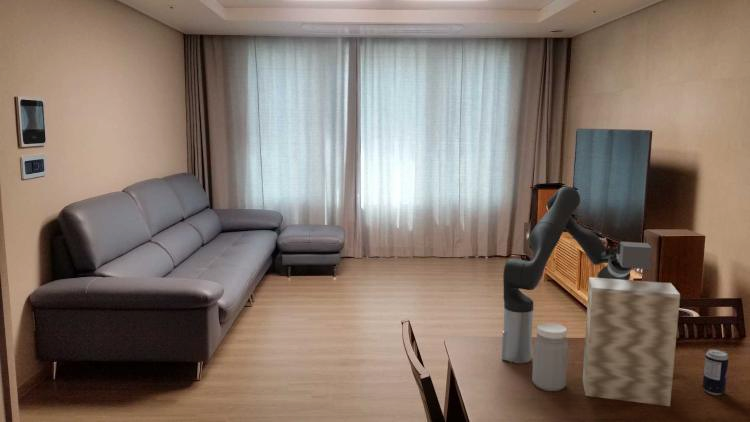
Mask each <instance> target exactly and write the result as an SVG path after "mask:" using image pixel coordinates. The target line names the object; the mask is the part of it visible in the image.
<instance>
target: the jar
mask: <svg viewBox="0 0 750 422" xmlns="http://www.w3.org/2000/svg"><path fill="white" fill-rule="evenodd" d="M567 330H568V328H567V327H565V326H564V325H563V324H559V323H556V322H542V323H539V324H538V325H537V327H536V333H537V334H536V337H535V338H534V341H533V353H532V354H533V355H532V356H533V357H532V374H531V375H532V376H531V377H532V378H531V381H532V382H533V384H534V385H535V387H537V388H538V389H540V390H542V391H547V392H558V391H561V390H562V389H564V388H565V387H566V384H567V369H568V368H567V367H568V353H569V352H568V351H569V342H568V341H567Z"/></svg>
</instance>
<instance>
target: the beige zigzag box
mask: <svg viewBox="0 0 750 422" xmlns="http://www.w3.org/2000/svg"><path fill="white" fill-rule="evenodd" d="M587 290H588V292H587V306H586V309H587V310H586V321H585V322H586V323H585V334H584V353H583V368H582V369H583V370H582V383H583V384H582V385H583V389H584V390H583V391H584V396H585V397H586V396H587V397H594V398H602V399H609V400H618V401H625V402H635V403H641V404H648V405H656V406H657V405H658V406H665V407H671V399H672V387H673V378H674V377H673V376H674V368H675V367H674V366H675V358H676V357H675V354H676V345H677V334H678V333H677V332H678V323H679V313H680V312H679V311H680V300H681V294H680V292H679V291H678V290H677V289H676V287H675V286H674V285H673V284H672V282H660V281H645V280H631V279H629V280H620V279H606V278H598V277H593V276H592V277H590V276H589V277H588V288H587Z"/></svg>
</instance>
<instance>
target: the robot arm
mask: <svg viewBox="0 0 750 422" xmlns="http://www.w3.org/2000/svg"><path fill="white" fill-rule="evenodd" d="M580 204H581V195H580V193H579V191H578V190H577V189H576V188H574V187H572V186H562V187H560V188H559V189H558V190H556V192H554V193H553V194H552V195H551V196H550V198H549V199H548V200H547V201H546V207H547V211H546V213H545V214H543V215H542V216H541V217H540V219H539V220H538V222H536V224H535V226H534V228H533V229H532V231H531V233H530V235H529V245H530V248H531V250H532V252H533V255H534V258H533V259H532V260H525V259H524V260H523V259H517V258H509V259H508V260H507V261H506V262H505V263H504V267H503V275H502V277H503V280H502V281H503V284H502V285H503V305H504V306H503V326H502V327H503V328H502V339H501V340H502V341H501V342H502V344H501V345H502V346H501V360H502V361H506V360H507V362H508V361H509V362H508V363H512V362H514V363H513V364H527V363H529V362H531V360H532V344H533V343H532V342H533V319H534V300H533V299H531V298H530V297H529V296H527V295H526V294H524V293H523V292H522V291H521V290H526V291H532V290H534V289H536V288H537V286H538V285H539V283H540V281H541V278H542V276H543V273H544V272H545V268H546V267H547V263H548V261H549V259H550V257H551V256H552V253H553V251H554V250H555V248H556V246H557V245H558V243H559V241H560V238H561V237H562V234H563V233H564V230H566V232H567V233H568V234H569V235H570V236H571V237H572V238H573V239H574V240H575V242H577V244H578V245H579V246H580V248H581V249H582V250H583V252H584V253H585V255H586V257H587V258H588V259H589V260H590V261H589V262H591V264H592V265H594V266H598V265H601V264H606V266H604V267H603V268H601V269H600V270H599V272H598V273H597V278H606V279H620V280H631V279H630V278H631V272H632V270H633V269H634V268H623V267H622V266H621V265H620V263H619V258H620V245H621V244H620V243H619V244H618V245H617V246H615V248H614V246H609V247H607V246H606V245H605V244H604V242H603V241H602V239H601V238H600V237H599V236H598V235H597V234H596V233H595V232H592V230H590V229H587V228H585V227H583V226H581V225H580V224H579V223H577V222H576V220H575V219H574V218H573V216H572V215H573V213H574V212H575V211H576V209H577V208H578V207H579V206H580Z"/></svg>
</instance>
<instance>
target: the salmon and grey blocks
mask: <svg viewBox="0 0 750 422" xmlns="http://www.w3.org/2000/svg"><path fill="white" fill-rule="evenodd" d="M620 244H621V245H620ZM619 245H620V258H619V263H620V265H621V266H622V267H623V268H633V269H639V270H640V269H641V270H650V269H651V262H652V261H651V260H652V259H651V258H652V250H653V249H652V246H651V245H650V244H649V243H648V242H636V241H635V242H633V241H632V242H631V241H620V242H619Z"/></svg>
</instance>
